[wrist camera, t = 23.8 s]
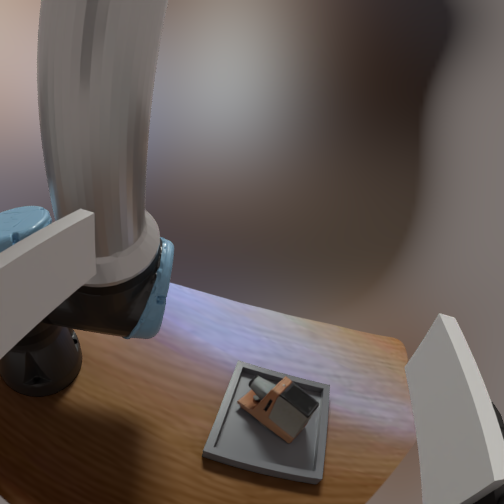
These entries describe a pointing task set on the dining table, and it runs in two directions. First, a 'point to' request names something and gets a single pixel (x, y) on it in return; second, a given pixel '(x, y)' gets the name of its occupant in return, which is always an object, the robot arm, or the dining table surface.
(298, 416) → the electronic device
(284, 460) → the dock tray
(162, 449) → the dining table surface
